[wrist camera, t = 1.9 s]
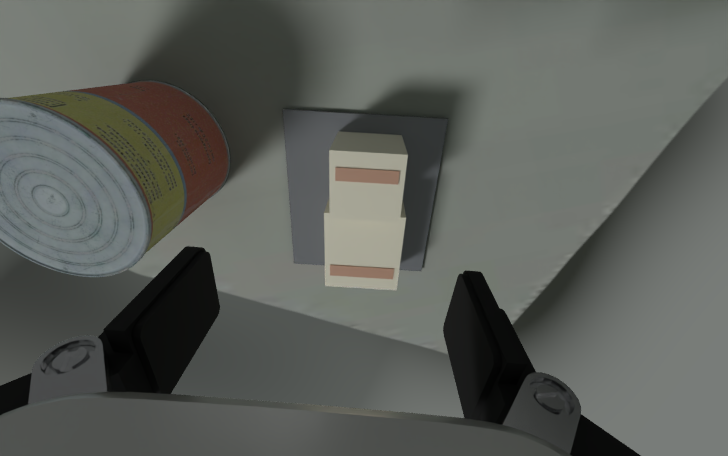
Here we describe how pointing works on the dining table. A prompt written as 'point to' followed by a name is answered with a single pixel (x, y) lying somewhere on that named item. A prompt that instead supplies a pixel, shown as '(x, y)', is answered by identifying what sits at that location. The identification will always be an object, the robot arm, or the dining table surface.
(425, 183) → the mat
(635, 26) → the dining table surface
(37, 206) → the canned food
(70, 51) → the dining table surface
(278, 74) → the dining table surface
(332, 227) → the cream striped box
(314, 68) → the dining table surface
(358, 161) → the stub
